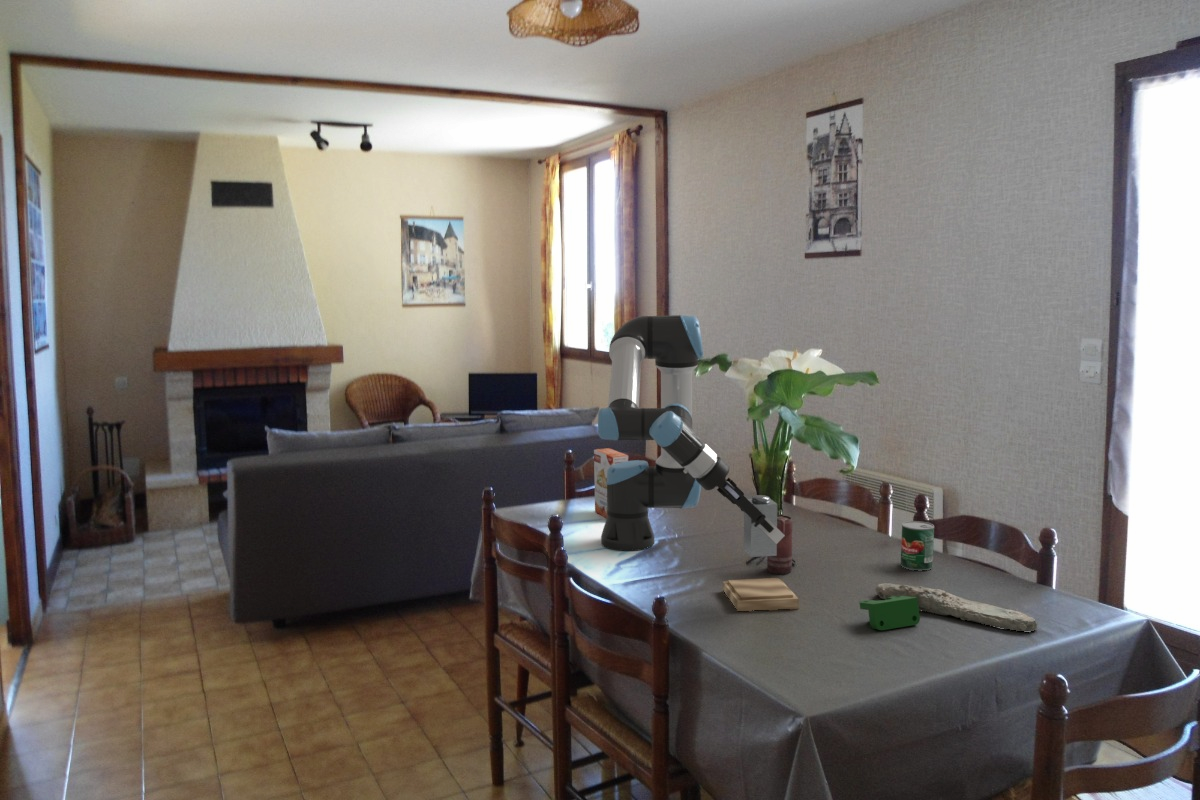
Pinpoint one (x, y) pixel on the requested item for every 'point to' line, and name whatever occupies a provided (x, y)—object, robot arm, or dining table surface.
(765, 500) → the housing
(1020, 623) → the elongated rock
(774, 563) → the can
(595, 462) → the cracker box
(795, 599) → the stand
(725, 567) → the dining table surface
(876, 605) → the green plastic block
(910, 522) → the canned tomato
